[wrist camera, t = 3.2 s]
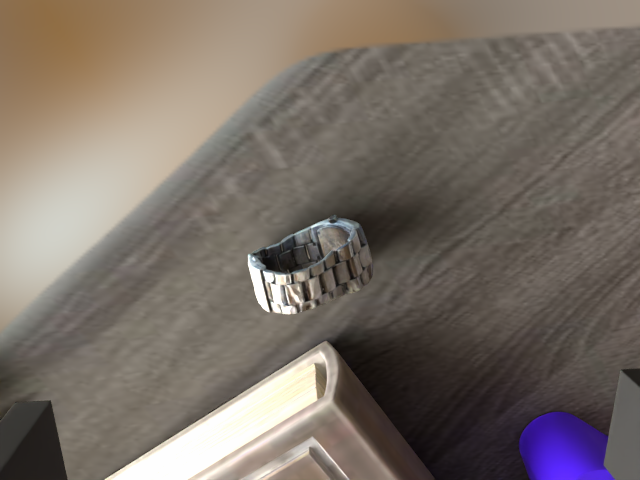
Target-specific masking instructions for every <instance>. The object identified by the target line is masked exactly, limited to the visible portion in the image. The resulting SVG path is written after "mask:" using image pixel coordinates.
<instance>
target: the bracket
mask: <svg viewBox="0 0 640 480" xmlns="http://www.w3.org/2000/svg"><path fill="white" fill-rule="evenodd" d="M607 442H608V436H606V435H605V434H603V433H602V432H600V431H598V430H597V429H595V428H594V427H592V426H590V425H589V424H587V423H586V422H584V421H582V420H581V419H579V418H577V417H576V416H574V415H572V414H570V413H566V412H551V413H547V414H544V415H541V416H539V417H538V418H536V419H534V420H533V421H532V422H530V423H529V424H528V425H527V427H526V428H525V429H524V431H523V432H522V434H521V437H520V440H519V450H520V453H521V456H522V459H523V462H524V465H525V468H526V471H527V473H528V476H529V479H530V480H615V479H614V478H613V477H612V475H611V474H610V473H609V472H608V470H607V469H606V468H605V466H604V459H605V453H606V448H607Z"/></svg>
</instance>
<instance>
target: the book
mask: <svg viewBox="0 0 640 480" xmlns="http://www.w3.org/2000/svg"><path fill="white" fill-rule="evenodd" d="M104 480H435V478H434V477H433V476H432V474H431V473H430V472H429V471H428V469H427V468H426V467H425V465H424V464H423V463H422V461H421V460H420V459H419V458H418V456H417V455H416V454H415V452H414V451H413V450H412V448H411V447H410V446H409V445H408V443H407V442H406V441H405V439H404V438H403V437H402V435H401V434H400V433H399V431H398V430H397V429H396V428H395V426H394V425H393V424H392V422H391V421H390V420H389V418H388V417H387V416H386V415H385V413H384V412H383V411H382V409H381V408H380V407H379V405H378V404H377V403H376V402H375V400H374V399H373V398H372V396H371V395H370V394H369V392H368V391H367V390H366V389H365V387H364V386H363V385H362V383H361V382H360V381H359V379H358V378H357V377H356V376H355V374H354V373H353V372H352V370H351V369H350V368H349V366H348V365H347V364H346V363H345V361H344V360H343V359H342V357H341V356H340V355H339V353H338V352H337V351H336V350H335V349H334V348H333V347H332V345H331V344H330V343H329V342H328V341H324V342H323V343H321V344H319V345H318V346H316V347H315V348H313V349H311V350H310V351H308V352H307V353H305V354H303V355H302V356H300V357H299V358H297V359H295V360H294V361H292V362H291V363H289V364H287V365H286V366H284V367H283V368H281V369H280V370H278V371H276V372H275V373H273V374H272V375H270V376H268V377H267V378H265V379H264V380H262V381H260V382H259V383H257V384H256V385H254V386H252V387H251V388H249V389H248V390H246V391H245V392H243V393H241V394H240V395H238V396H237V397H235V398H233V399H232V400H230V401H229V402H227V403H225V404H224V405H222V406H221V407H219V408H217V409H216V410H214V411H213V412H211V413H209V414H208V415H206V416H205V417H203V418H202V419H200V420H198V421H197V422H195V423H194V424H192V425H190V426H189V427H187V428H186V429H184V430H182V431H181V432H179V433H178V434H176V435H174V436H173V437H171V438H170V439H168V440H166V441H165V442H163V443H162V444H160V445H159V446H157V447H155V448H154V449H152V450H151V451H149V452H147V453H146V454H144V455H143V456H141V457H139V458H138V459H136V460H135V461H133V462H131V463H130V464H128V465H127V466H125V467H124V468H122V469H120V470H119V471H117V472H116V473H114V474H112V475H111V476H109V477H108V478H106V479H104Z"/></svg>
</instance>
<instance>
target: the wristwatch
mask: <svg viewBox="0 0 640 480" xmlns="http://www.w3.org/2000/svg"><path fill="white" fill-rule="evenodd" d="M248 265H249V269H250V273H251V277H252V281H253V284H254V289H255V293H256V297H257V300H258V302H259V304H260V305H261V306H262V307H263V309H265V310H266V311H268V312H275V313H283V314H296V313H299V312H300V311H301V312H303V311H306V310H308V309H313V308H316V307H317V306H321V305H323V304H326V303H329V302H331V300H332V299H336V298H339V297H341V296H343V295H344V294H349V293H353V292H357V291H360V290H361V289H362V288H363V286H365V285H367V284H368V283H369V281H370V279H371V278H372V273H373V265H372V258H371V253H370V249H369V246H368V243H367V240H366V237H365V234H364V232H363V229H362V227H361V225H360V224H359V223H357V222H355V221H352V220H349V219H345V218H337V216H336V215H332V216H330V217H329V218H328V219H326V220H323V221H320V222H318V223H316V224H314V225H312V226H310V227H307V228H305V229H303V230H301V231H299V232H297V233H295V234H291V235H288V236H287V237H286V238H284V239H283V240H282V241H281V242H280V243H278V244H274V245H271V246H268V247H267V248H265V247H262V248H260V249H258V250H256V251H254V252H253V253H252V254H248ZM343 284H344V285H343Z"/></svg>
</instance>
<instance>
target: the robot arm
mask: <svg viewBox="0 0 640 480" xmlns="http://www.w3.org/2000/svg"><path fill="white" fill-rule="evenodd" d="M604 466H605V468H606V469H607V470H608V472H609V473H610V474H611V475H612V477H613V478H614V479H615V480H640V369H624V370H620V375H619V381H618V386H617V392H616V397H615V403H614V409H613V414H612V420H611V425H610V431H609V437H608V442H607V448H606V453H605V459H604ZM0 480H67V475H66V470H65V465H64V461H63V456H62V451H61V447H60V442H59V437H58V433H57V428H56V423H55V418H54V414H53V409H52V404H51V401H33V402H15V404H14V405H13V406H12V407H11V409H10V410H9V411H8V412H7V414H6V415H5V416H4V417H3V418H2V420H1V421H0Z"/></svg>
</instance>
